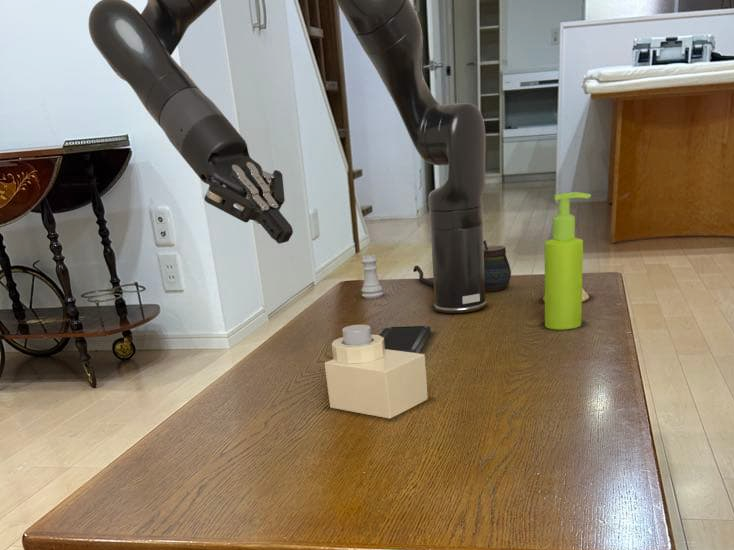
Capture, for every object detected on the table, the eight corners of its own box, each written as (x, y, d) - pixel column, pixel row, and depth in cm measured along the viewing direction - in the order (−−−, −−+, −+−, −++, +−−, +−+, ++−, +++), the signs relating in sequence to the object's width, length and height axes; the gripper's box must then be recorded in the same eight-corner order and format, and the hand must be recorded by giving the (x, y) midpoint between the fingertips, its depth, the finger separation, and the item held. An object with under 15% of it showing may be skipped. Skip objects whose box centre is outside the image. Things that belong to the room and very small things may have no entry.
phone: (431, 325, 136) (415, 350, 123) (431, 332, 137) (416, 357, 124) (384, 327, 138) (364, 351, 125) (385, 333, 138) (365, 359, 126)
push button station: (325, 406, 108) (317, 346, 104) (364, 389, 113) (358, 330, 109) (390, 419, 101) (384, 355, 98) (428, 399, 107) (423, 338, 103)
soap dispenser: (587, 328, 131) (590, 193, 122) (543, 330, 133) (543, 196, 123) (588, 319, 136) (591, 189, 127) (545, 321, 138) (545, 192, 128)
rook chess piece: (383, 298, 165) (379, 256, 161) (361, 299, 165) (356, 258, 161) (384, 293, 169) (380, 252, 165) (362, 295, 169) (358, 254, 165)
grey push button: (338, 346, 105) (336, 330, 104) (356, 339, 107) (354, 323, 106) (359, 349, 103) (358, 332, 102) (377, 341, 105) (376, 325, 104)
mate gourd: (513, 285, 165) (512, 232, 161) (508, 293, 159) (507, 238, 154) (477, 286, 167) (476, 234, 163) (471, 294, 161) (469, 240, 156)
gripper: (172, 116, 99) (261, 225, 98) (250, 108, 108) (333, 207, 107) (154, 166, 105) (238, 269, 104) (230, 153, 114) (309, 249, 113)
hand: (286, 237), depth 106 cm, fingers closed
